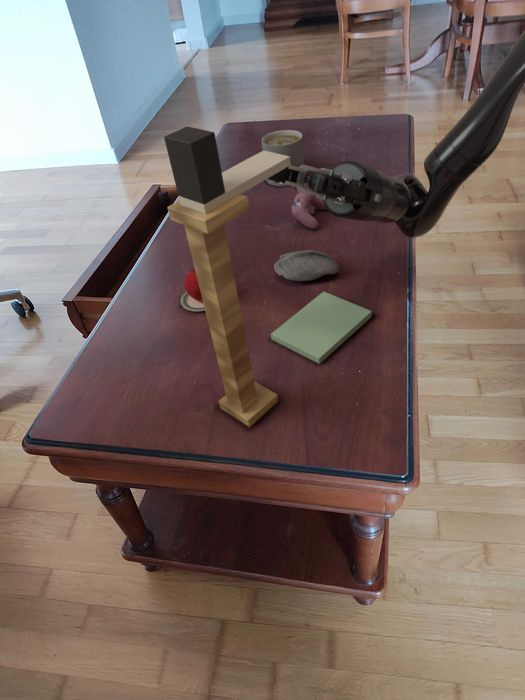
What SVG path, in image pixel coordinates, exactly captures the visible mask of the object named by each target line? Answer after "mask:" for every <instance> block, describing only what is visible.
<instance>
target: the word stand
mask: <svg viewBox="0 0 525 700" xmlns="http://www.w3.org/2000/svg"><path fill="white" fill-rule="evenodd" d="M247 211H250V203H249V197H248V196H247V195H244V194H242V193H241V194H240V195H238V196H236V197H235V198H233V199H231V200H229V201H228V202H226V203H224V204H222V205H221V206H219V207H217V208H216V209H214V210H212V211H210V212H209V213H207V214H204V213H202V212H199V211H196V210H193V209H190V208H188V207H185V206H182V205H180V201H179V200H178V201H175V202H173V203H172V204H170V205H169V206H167V212H168V215H169V219H170V221H173V222H176V223H178V224H180V225H183V227H184V230H185V235H186V239H187V243H188V246H189V247H188V248H189V251H190V255H191V259H192V263H193V267H194V269H195V271H196V275H197V279H198V283H199V287H200V292H201V296H202V300H203V304H204V308H205V311H204V312H205V315H206V316H205V317H206V320H207V324H208V327H209V328H208V329H209V331H210V335H211V340H212V343H213V348H214V352H215V357H216V360H217V364H218V368H219V372H220V375H221V376H220V377H221V380H222V384H223V388H224V392H225V393H224V394H225V395H224V396H223V397H221V398H220V399H219V400H218V404H219V408H220V409H221V410H223V411H224V412H225V413H227V414H229V415H230V416H231V417H233V418H235V419H236V420H237V421H239V422H240V423H242V424H243V425H245V426H247V427H248V428H251V427H252V426H253V425H254V424H256V422H258V421H259V420H261V418H262V417H263V416H264V415H265V414H267V413H268V412H269V411H270V410H271V409H272V408H273V407H275V405H276V404H278V402H279V397H278V394H277V393H276V392H274V391H272V390H270V389H268V388H267V387H265V386H263V385H262V384H260V383H259V382H257V381H255V379H254V374H253V368H252V363H251V358H250V354H249V353H250V352H249V347H248V343H247V342H248V341H247V337H246V332H245V326H244V322H243V315H242V310H241V306H240V305H241V304H240V300H239V295H238V290H237V284H236V279H235V274H234V268H233V263H232V257H231V252H230V247H229V242H228V236H227V230H226V226H225V225H227V223H229V222H231V221H233V220H235V219H236V218H238V217H240V216H241V215H242V214H244V213H246V212H247Z"/></svg>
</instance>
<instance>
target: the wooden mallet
mask: <svg viewBox="0 0 525 700" xmlns="http://www.w3.org/2000/svg"><path fill="white" fill-rule="evenodd" d="M163 139H164V143H165V147H166V151H167V155H168V159H169V163H170V167H171V171H172V175H173V179H174V185H175V188H176V192H177V197H178V201H180V205H182V206H185V207H188V208H190V209H193V210H196V211H199V212H202V213H204V214H207V213H209V212H210V211H212V210H214V209H216V208H217V207H219V206H221V205H222V204H224V203H226V202H228V201H229V200H231V199H233V198H235V197H236V196H238V195H240V194H241V195H242V194H243V193H245V192H247V191H249V190H250V189H252V188H254V187H255V186H257V185H259V184H260V183H262V182H264V181H266V179H267V178H269V177H271V176H273V175H274V174H276V173H278V172H280V171H281V170H283V169H285V168H286V167H288V166H290V165H291V164H290V156H285V155H281V154H277V153H272V152H268V151H263V150H261V151H260V152H258V153H256V154H254V155H252V156H251V157H248V158H246V159H245V160H243V161H241V162H239V163H237V164H236V165H234V166H232V167H230V168H228V169H226V170H224V171H223V172H222V167H221V161H220V156H219V149H218V145H217V144H218V143H217V138H216V133H215V131H211V130H206V129H201V128H197V127H192V126H188V125H187V126H184V127H182V128H180V129H178V130H176V131H173V132H171V133H169V134H167V135H165V136H163Z"/></svg>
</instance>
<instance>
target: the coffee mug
mask: <svg viewBox="0 0 525 700" xmlns="http://www.w3.org/2000/svg"><path fill="white" fill-rule="evenodd" d="M261 147H262V148H261V149H262V151H268V152H272V153H277V154H281V155H285V156H290V164H291V166H294V167H300V166H301V165H306V162H305V150H304V149H305V148H304V136H303V133H302V132H301V131H298V130H294V129H282V130H281V129H280V130H276V131H271V132H268V133H267V134H265V135H264V136H263V137H262V138H261ZM265 181H266V182H267V184H269V185H271V186H276V187H289V186H290V185H286V184H285V185H282V183H279V182H278V183H275V181H272V180H268V179H266V180H265Z"/></svg>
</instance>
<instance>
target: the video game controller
mask: <svg viewBox="0 0 525 700" xmlns="http://www.w3.org/2000/svg"><path fill="white" fill-rule="evenodd" d="M307 190H311V189H309V188H307ZM311 191H313V190H311ZM314 208H316V209H318V210H321V211H327V210H328V209H327V208H326V206H325V204H324V202H323V200H322V199H318V198H315V197H314V196H313V195H310V194H306V193H302V192H298V193H297V194H296V196H295V197H294V201H293V204H292V205H291V213H292V215H293V217H294V219H296V220H297V221H299V222H300V223H301V224H302V225H304V226H305V227H307V228H309V229H312V230H317V229H318V227H319V222H318V220H317V219H316V218H315V217H314V216H313V215H314V213H315V209H314Z"/></svg>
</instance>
